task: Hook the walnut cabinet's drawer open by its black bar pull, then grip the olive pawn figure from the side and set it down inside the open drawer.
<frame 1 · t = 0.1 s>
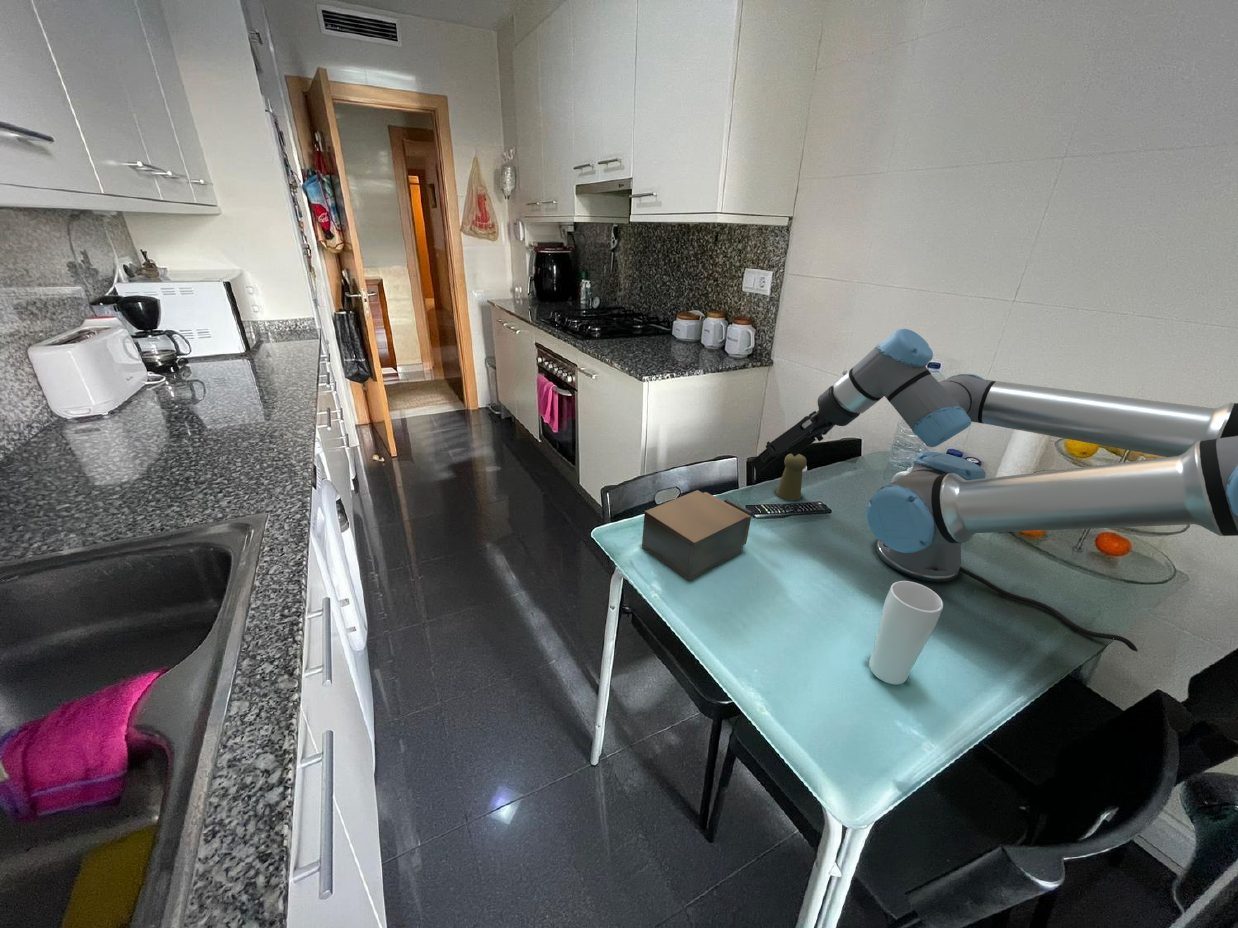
hand: (773, 459, 109), 15 cm above the table, tool tilted 35°, fingers open, 13 cm apart
drawer: (710, 524, 104), point 4 cm above the table, slide at 1.0 cm
cabinet: (691, 549, 103), on the table
olive pawn figure: (788, 495, 127), on the table
drinking glass: (886, 673, 77), on the table
mug: (907, 511, 123), on the table
egg: (990, 525, 118), on the table
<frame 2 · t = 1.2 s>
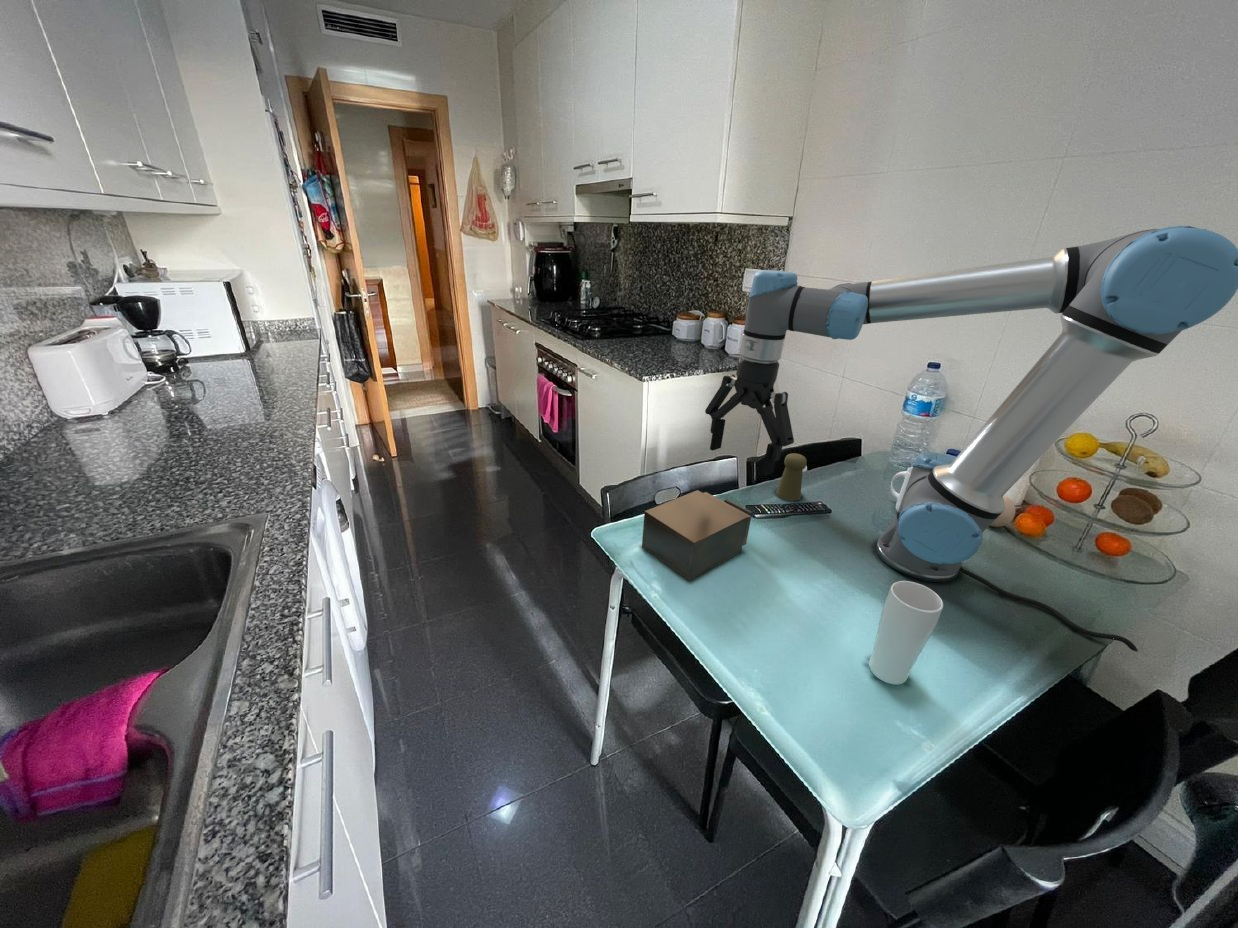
hand: (740, 460, 103), 17 cm above the table, tool pointing down, fingers open, 13 cm apart
nothing on the table moved.
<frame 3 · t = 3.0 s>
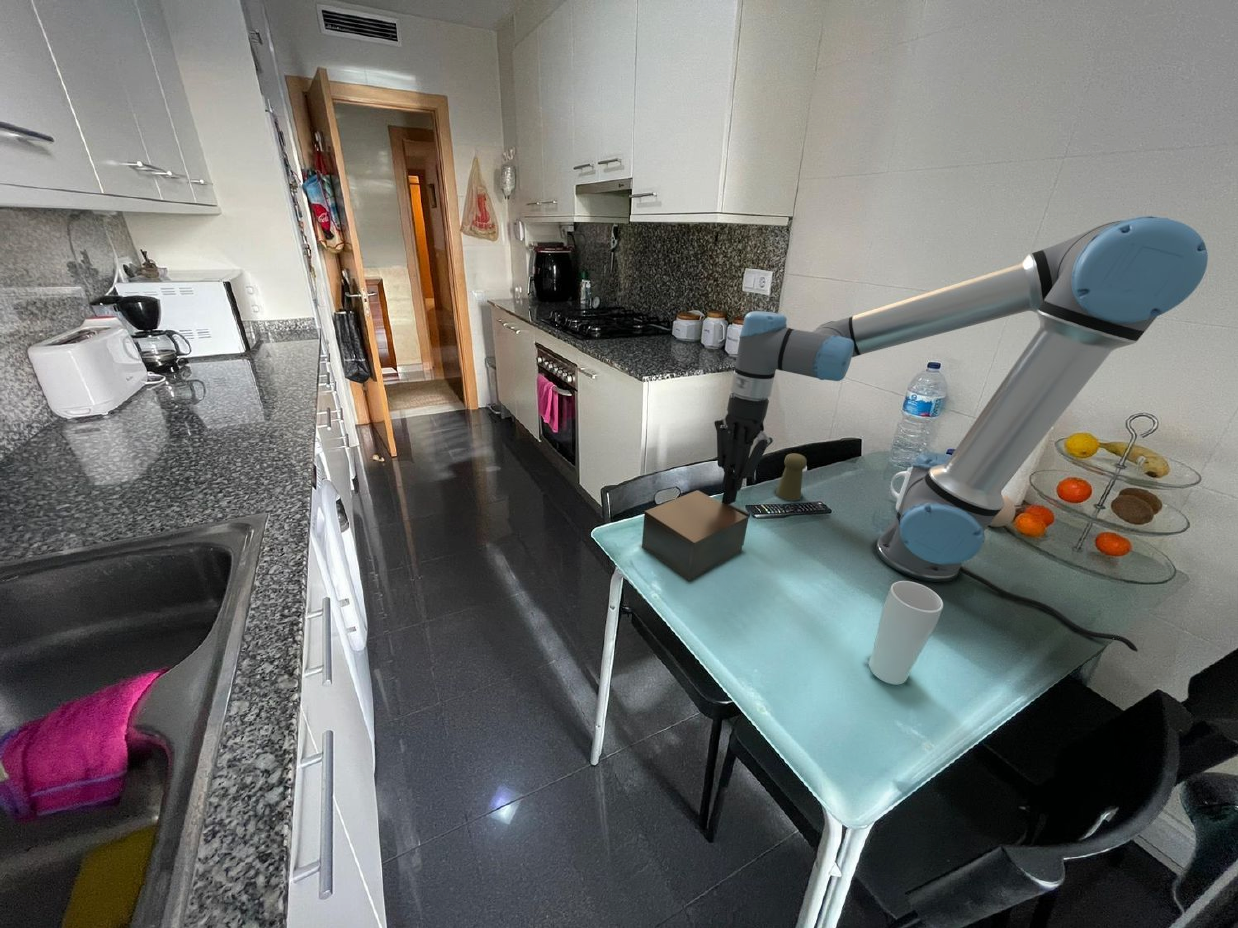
hand: (728, 501, 106), 8 cm above the table, tool pointing down, fingers closed
drawer: (707, 525, 104), point 4 cm above the table, slide at 0.1 cm, touching gripper
everything else where it was.
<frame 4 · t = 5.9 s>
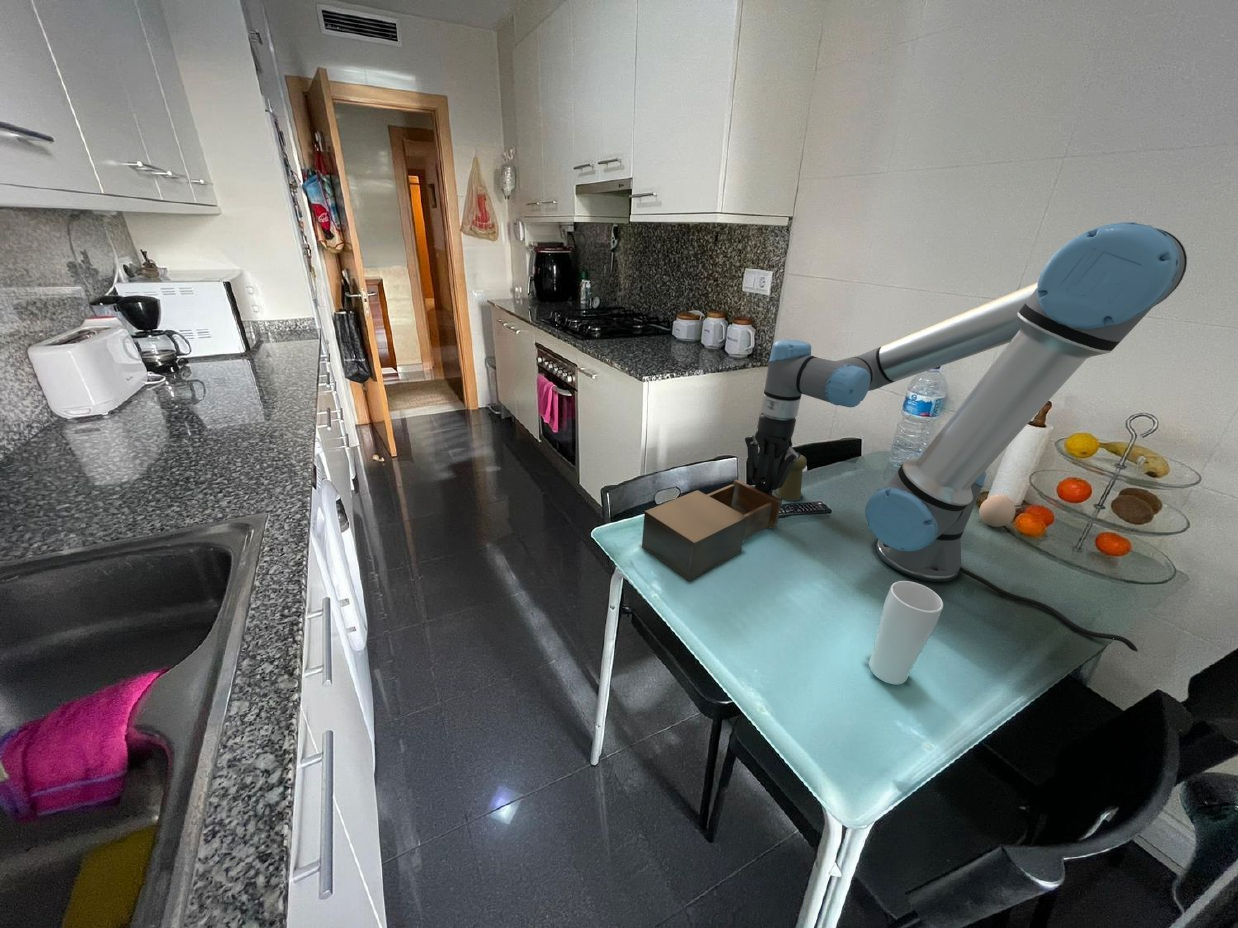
hand: (759, 510, 116), 2 cm above the table, tool pointing down, fingers closed
drawer: (742, 509, 111), point 4 cm above the table, slide at 11.8 cm, touching gripper
everything else where it was.
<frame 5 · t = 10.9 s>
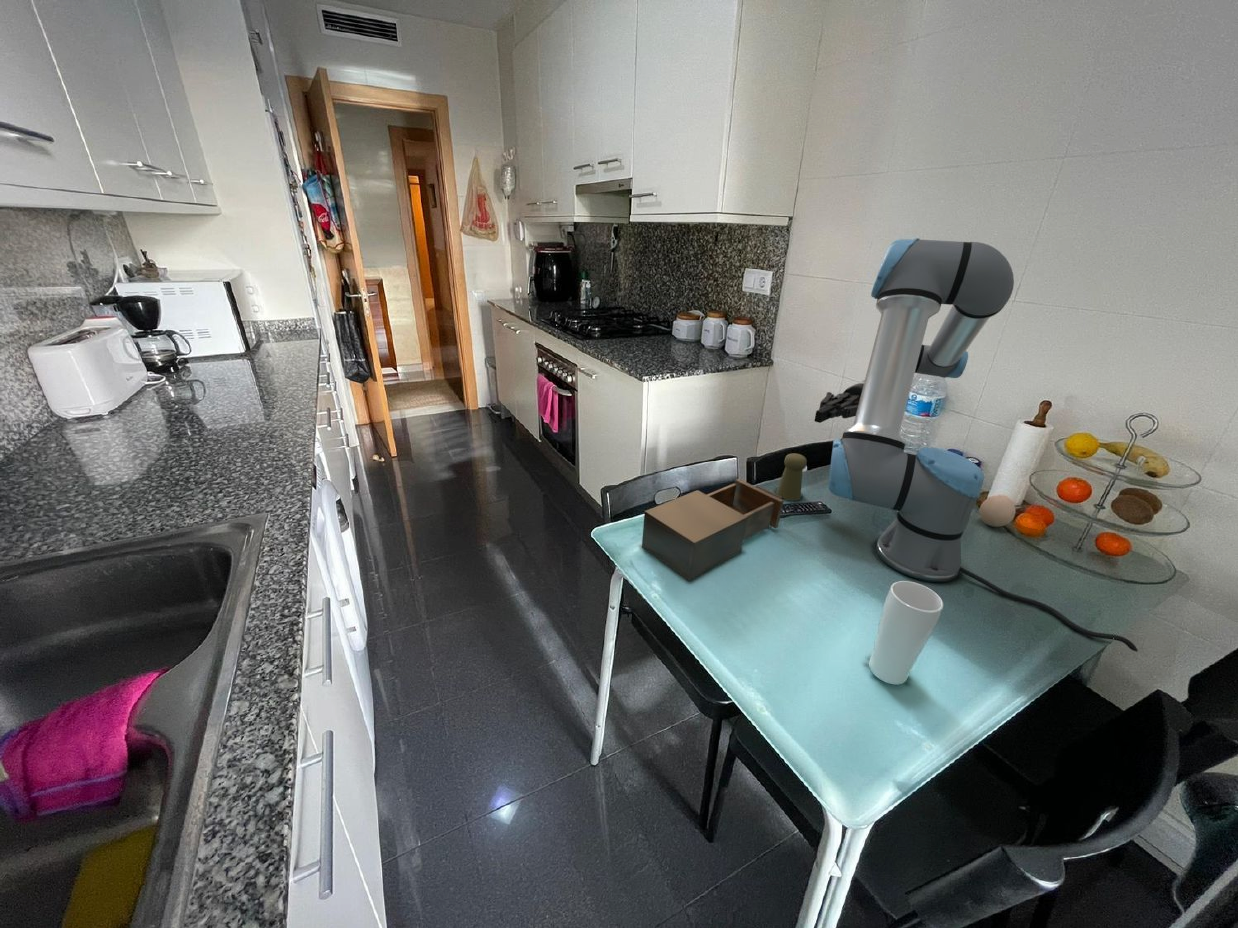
hand: (818, 416, 122), 20 cm above the table, tool horizontal, fingers closed
drawer: (744, 508, 111), point 4 cm above the table, slide at 12.4 cm
everything else where it was.
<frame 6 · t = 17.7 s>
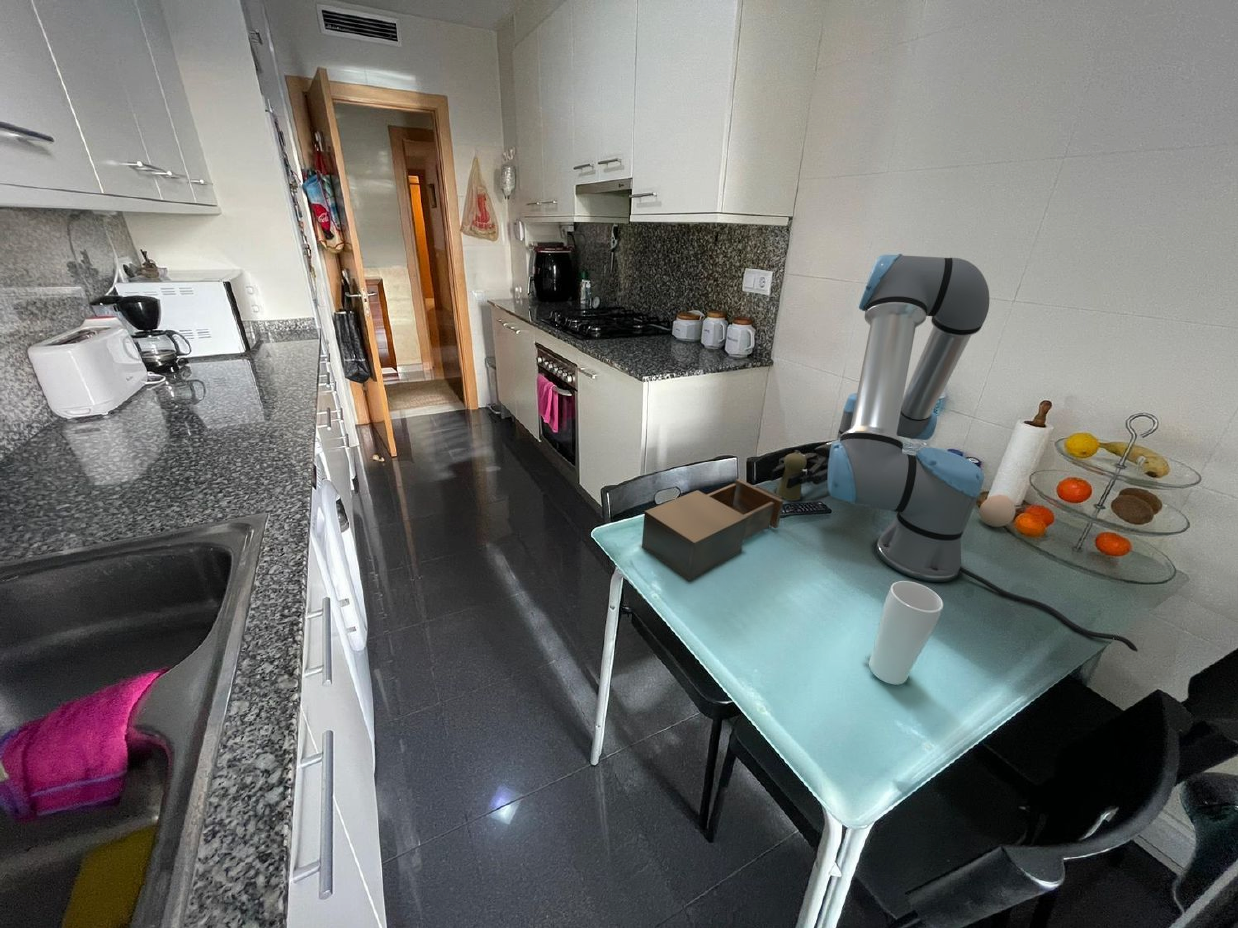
hand: (780, 479, 121), 6 cm above the table, tool horizontal, fingers closed on olive pawn figure, 4 cm apart
olive pawn figure: (788, 495, 127), on the table, touching gripper
everything else where it was.
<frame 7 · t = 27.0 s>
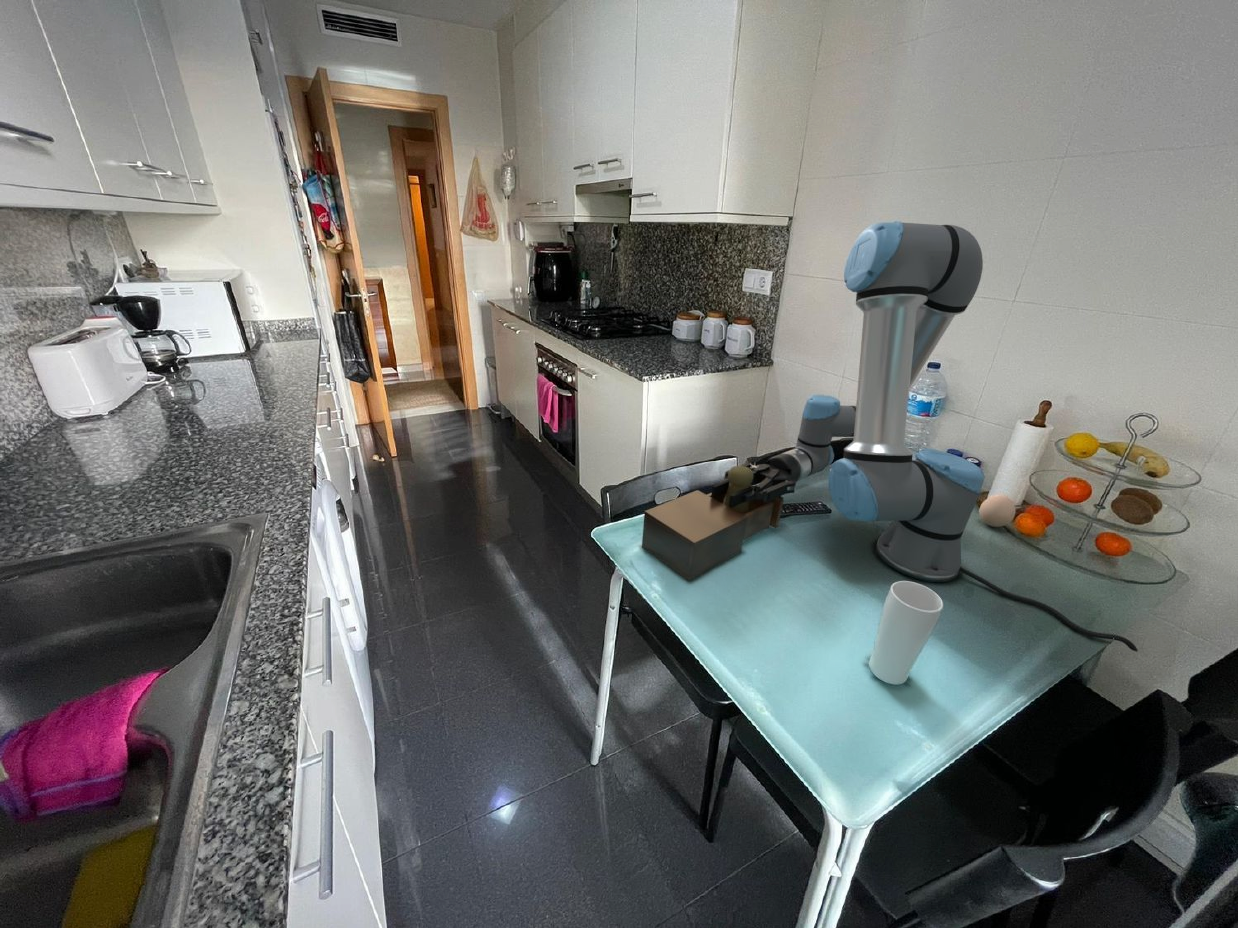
hand: (722, 496, 103), 10 cm above the table, tool horizontal, fingers closed on olive pawn figure, 4 cm apart
olive pawn figure: (734, 514, 109), point 4 cm above the table, touching gripper
everything else where it was.
when the fingers open (10 cm above the table, at t = 28.6 s): olive pawn figure drops 2 cm, resting on drawer.
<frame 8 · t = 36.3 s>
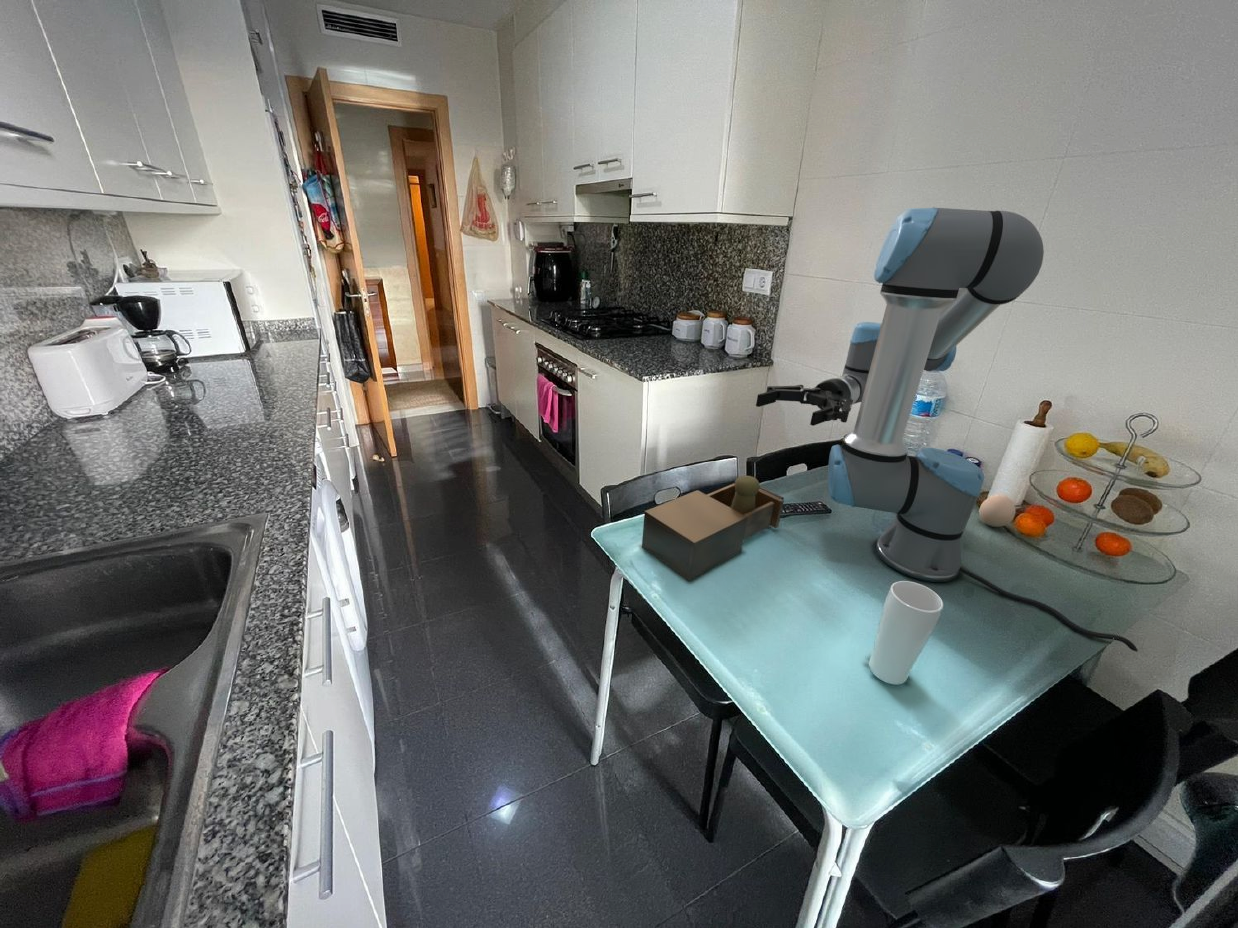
hand: (784, 409, 107), 26 cm above the table, tool horizontal, fingers open, 13 cm apart
drawer: (744, 508, 111), point 4 cm above the table, slide at 12.5 cm, touching olive pawn figure
olive pawn figure: (740, 523, 110), point 2 cm above the table, touching drawer
everything else where it was.
at the end: drawer slide at 12.5 cm; olive pawn figure inside the target area in the drawer (1.2 cm from its centre), point 1.8 cm above the cabinet's base; the gripper is holding nothing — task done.
